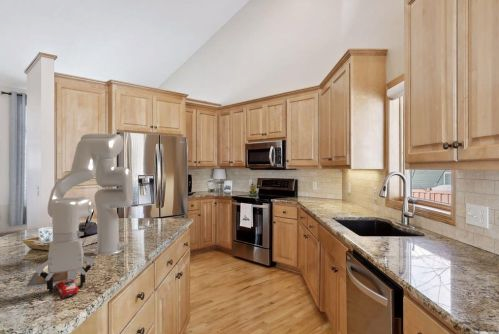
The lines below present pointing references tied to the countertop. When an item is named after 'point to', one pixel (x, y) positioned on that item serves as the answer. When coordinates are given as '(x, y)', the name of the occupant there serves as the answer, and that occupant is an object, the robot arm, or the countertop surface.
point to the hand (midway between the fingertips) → (66, 287)
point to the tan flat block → (53, 276)
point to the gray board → (35, 282)
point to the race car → (66, 288)
